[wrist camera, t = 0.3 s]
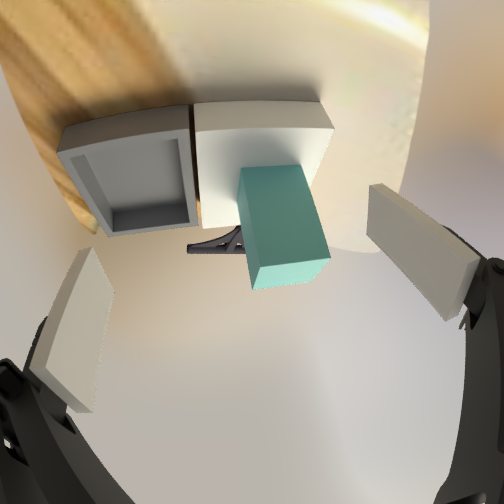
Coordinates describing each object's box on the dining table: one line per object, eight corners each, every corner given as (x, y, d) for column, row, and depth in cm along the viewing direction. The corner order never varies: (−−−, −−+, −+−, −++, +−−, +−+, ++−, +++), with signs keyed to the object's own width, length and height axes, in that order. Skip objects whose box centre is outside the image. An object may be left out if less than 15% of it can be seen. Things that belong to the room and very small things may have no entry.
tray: (65, 126, 21) (56, 152, 19) (188, 104, 23) (188, 128, 21) (110, 214, 35) (108, 237, 34) (196, 202, 37) (198, 225, 36)
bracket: (300, 204, 43) (304, 220, 42) (260, 247, 56) (263, 260, 55) (208, 195, 37) (210, 212, 36) (186, 245, 50) (187, 260, 48)
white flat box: (193, 103, 23) (195, 131, 21) (320, 102, 25) (334, 128, 23) (200, 202, 37) (202, 228, 36) (288, 194, 39) (295, 219, 38)
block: (240, 167, 26) (260, 267, 22) (301, 164, 27) (330, 257, 23) (236, 203, 32) (252, 289, 28) (288, 199, 33) (310, 281, 29)
